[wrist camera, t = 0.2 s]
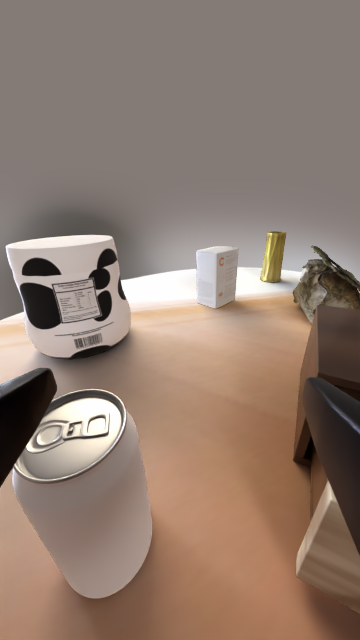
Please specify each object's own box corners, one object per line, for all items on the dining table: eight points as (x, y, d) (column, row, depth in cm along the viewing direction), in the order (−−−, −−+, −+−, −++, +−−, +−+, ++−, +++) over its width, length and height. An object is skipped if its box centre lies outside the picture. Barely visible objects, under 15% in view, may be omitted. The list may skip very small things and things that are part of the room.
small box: (215, 294, 64) (217, 245, 58) (235, 300, 60) (239, 247, 54) (195, 302, 59) (195, 250, 53) (215, 309, 55) (217, 253, 49)
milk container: (87, 315, 54) (68, 233, 47) (150, 328, 48) (140, 235, 40) (13, 354, 40) (-32, 247, 33) (87, 380, 34) (53, 253, 26)
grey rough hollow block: (310, 303, 68) (278, 263, 67) (357, 276, 61) (321, 231, 60) (318, 350, 45) (268, 291, 44) (395, 315, 38) (337, 244, 37)
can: (73, 500, 20) (28, 393, 15) (149, 481, 21) (132, 376, 16) (53, 617, 14) (-34, 513, 9) (158, 583, 15) (138, 472, 10)
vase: (269, 283, 71) (276, 234, 65) (255, 278, 76) (261, 232, 70) (284, 280, 73) (292, 232, 67) (270, 276, 78) (277, 230, 72)
